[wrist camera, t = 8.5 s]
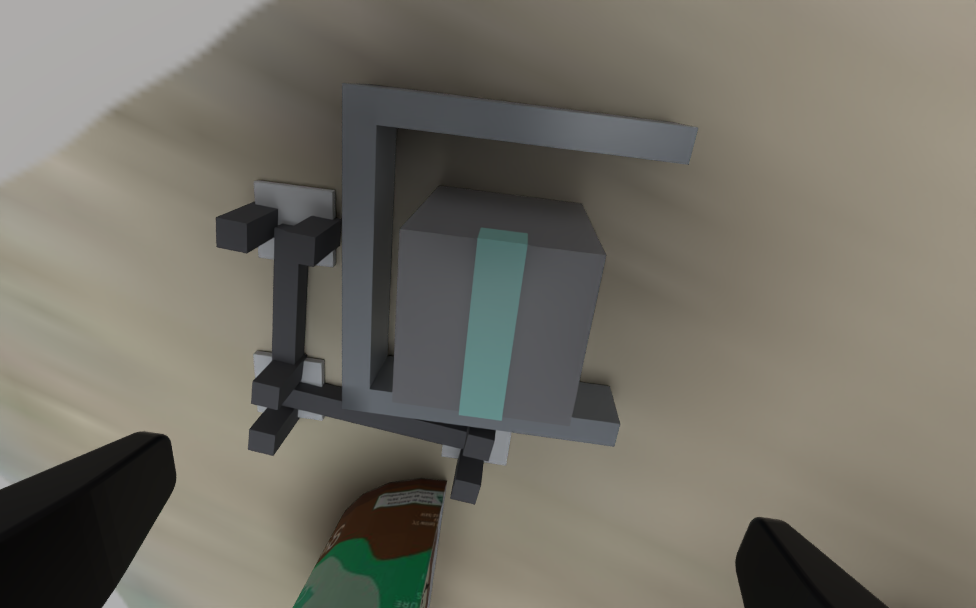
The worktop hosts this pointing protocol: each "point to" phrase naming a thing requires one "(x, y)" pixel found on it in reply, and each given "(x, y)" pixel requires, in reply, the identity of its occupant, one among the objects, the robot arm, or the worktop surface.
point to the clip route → (287, 371)
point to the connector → (495, 305)
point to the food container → (381, 550)
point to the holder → (370, 227)
